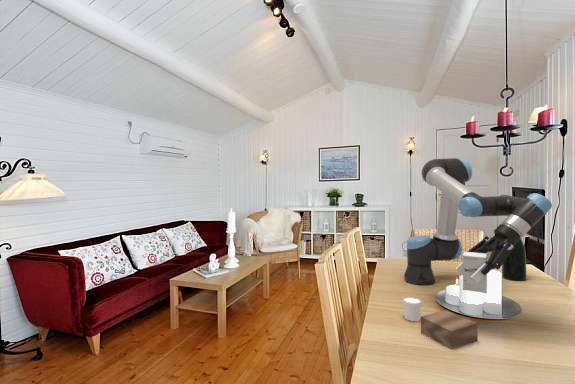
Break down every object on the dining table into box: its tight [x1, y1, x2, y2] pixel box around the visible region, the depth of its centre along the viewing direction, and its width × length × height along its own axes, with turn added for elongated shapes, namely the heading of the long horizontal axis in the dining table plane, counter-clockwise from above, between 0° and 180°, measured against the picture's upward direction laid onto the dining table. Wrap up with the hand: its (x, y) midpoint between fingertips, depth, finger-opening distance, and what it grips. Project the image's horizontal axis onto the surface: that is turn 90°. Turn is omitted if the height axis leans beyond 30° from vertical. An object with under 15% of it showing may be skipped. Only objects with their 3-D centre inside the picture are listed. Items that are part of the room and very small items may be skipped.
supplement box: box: [462, 251, 488, 294], centre depth 110 cm, size 7×7×13 cm
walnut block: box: [420, 309, 479, 350], centre depth 104 cm, size 12×12×6 cm
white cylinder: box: [402, 297, 423, 322], centre depth 118 cm, size 7×7×7 cm
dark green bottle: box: [501, 238, 527, 282], centre depth 164 cm, size 10×10×33 cm
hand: (465, 275), depth 111 cm, fingers closed on supplement box, 10 cm apart
